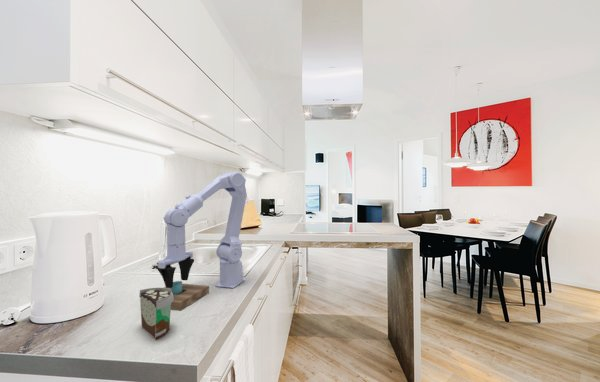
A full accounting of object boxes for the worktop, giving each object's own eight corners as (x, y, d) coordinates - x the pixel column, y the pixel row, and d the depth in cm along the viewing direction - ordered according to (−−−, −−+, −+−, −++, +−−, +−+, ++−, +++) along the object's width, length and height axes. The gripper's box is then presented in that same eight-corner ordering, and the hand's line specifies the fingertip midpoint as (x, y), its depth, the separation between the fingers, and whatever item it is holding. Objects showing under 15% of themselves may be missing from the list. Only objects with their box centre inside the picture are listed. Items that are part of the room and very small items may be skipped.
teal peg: (176, 296, 97) (176, 280, 96) (184, 297, 95) (184, 281, 95) (168, 300, 93) (168, 283, 93) (176, 301, 92) (176, 285, 92)
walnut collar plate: (174, 289, 103) (174, 282, 103) (209, 292, 99) (209, 285, 99) (141, 305, 89) (141, 297, 89) (180, 310, 85) (180, 302, 85)
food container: (182, 332, 72) (182, 294, 72) (157, 342, 67) (157, 301, 67) (163, 318, 80) (162, 283, 80) (139, 326, 75) (139, 289, 75)
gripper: (180, 239, 102) (181, 276, 102) (150, 247, 88) (150, 290, 88) (197, 240, 100) (198, 277, 100) (168, 248, 86) (169, 292, 86)
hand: (177, 283), depth 94 cm, fingers open, 7 cm apart
